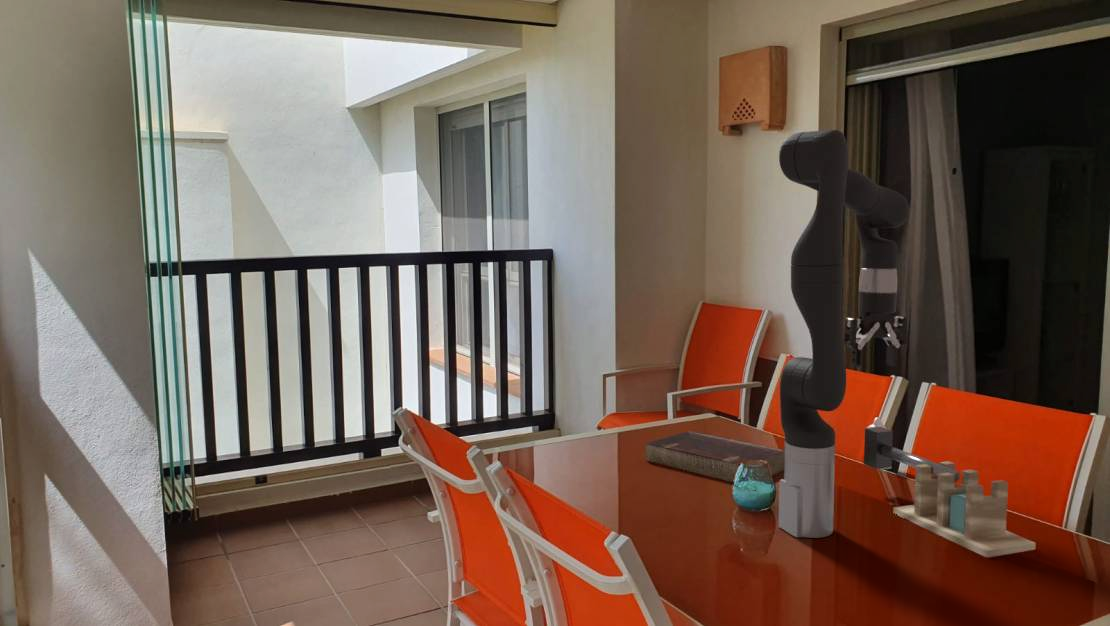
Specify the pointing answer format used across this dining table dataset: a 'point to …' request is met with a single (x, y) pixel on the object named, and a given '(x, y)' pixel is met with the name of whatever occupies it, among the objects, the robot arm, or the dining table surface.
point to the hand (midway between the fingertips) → (874, 365)
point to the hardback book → (711, 454)
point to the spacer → (958, 512)
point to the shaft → (894, 453)
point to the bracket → (980, 514)
